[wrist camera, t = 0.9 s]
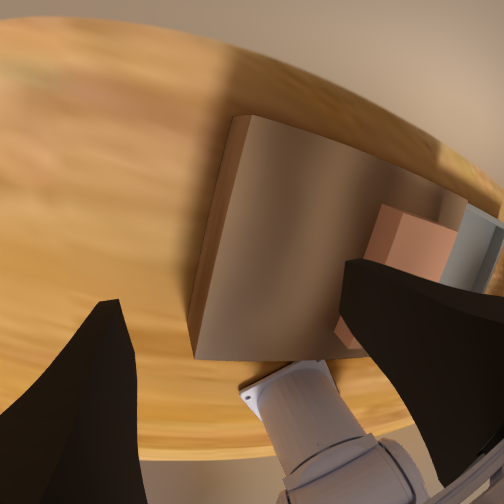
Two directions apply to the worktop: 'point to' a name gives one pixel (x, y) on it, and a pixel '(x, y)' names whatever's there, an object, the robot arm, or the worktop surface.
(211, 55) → the worktop surface
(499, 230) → the tray
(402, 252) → the tile
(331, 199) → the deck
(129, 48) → the worktop surface
